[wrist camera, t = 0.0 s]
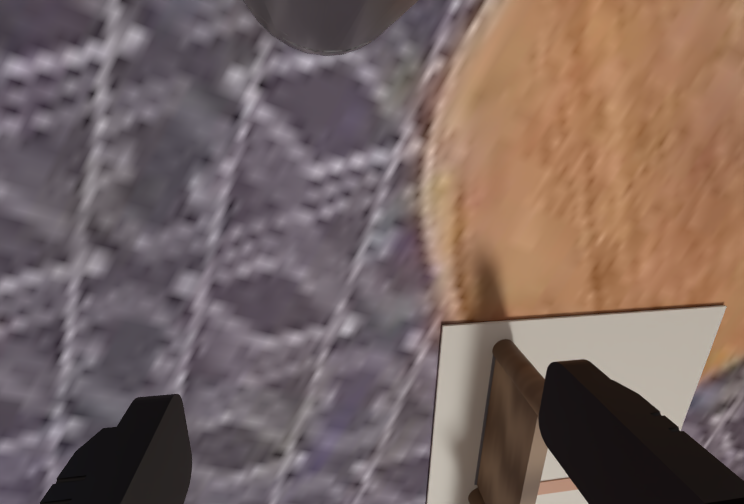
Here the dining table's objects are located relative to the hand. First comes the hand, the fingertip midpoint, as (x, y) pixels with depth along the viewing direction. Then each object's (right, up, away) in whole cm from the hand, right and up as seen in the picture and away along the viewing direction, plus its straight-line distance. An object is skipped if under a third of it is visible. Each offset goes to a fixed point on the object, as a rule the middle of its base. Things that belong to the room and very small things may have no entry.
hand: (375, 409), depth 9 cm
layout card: (+17, -17, +28) cm, 37 cm away
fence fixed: (+10, -11, +24) cm, 29 cm away
